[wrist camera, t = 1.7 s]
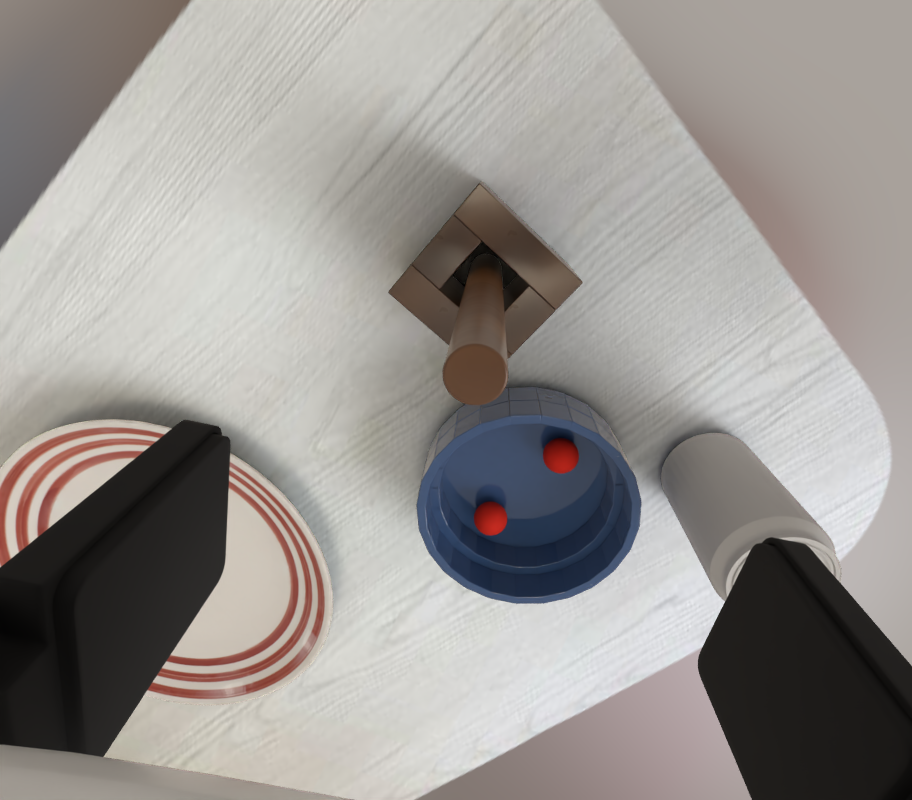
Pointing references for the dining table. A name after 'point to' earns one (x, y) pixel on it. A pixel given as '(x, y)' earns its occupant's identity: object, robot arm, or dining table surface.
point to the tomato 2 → (560, 455)
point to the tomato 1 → (490, 518)
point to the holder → (508, 237)
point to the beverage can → (734, 507)
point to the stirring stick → (479, 337)
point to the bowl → (528, 498)
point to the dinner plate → (243, 579)
